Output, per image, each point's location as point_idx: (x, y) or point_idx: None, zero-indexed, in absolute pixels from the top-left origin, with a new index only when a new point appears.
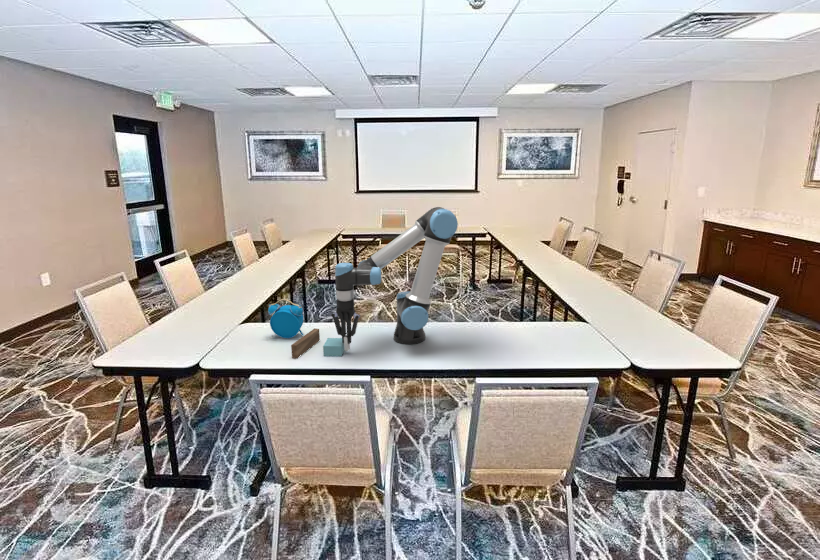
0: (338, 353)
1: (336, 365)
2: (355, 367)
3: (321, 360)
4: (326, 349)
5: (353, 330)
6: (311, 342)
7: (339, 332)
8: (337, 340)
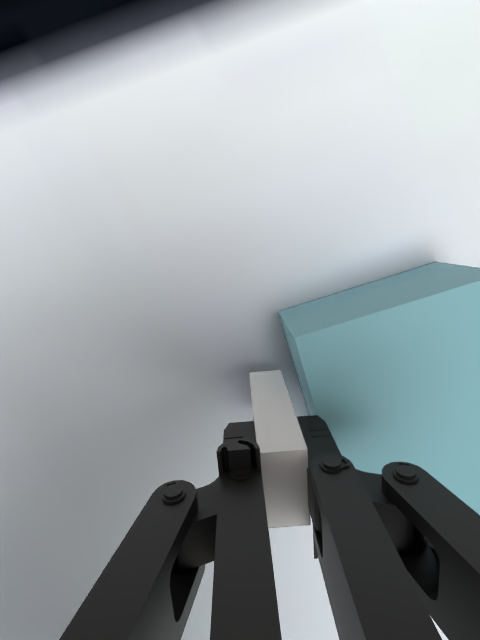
0: (311, 308)
1: (228, 101)
2: (35, 118)
3: (417, 166)
4: (444, 277)
5: (122, 565)
6: None
7: (402, 490)
8: None
